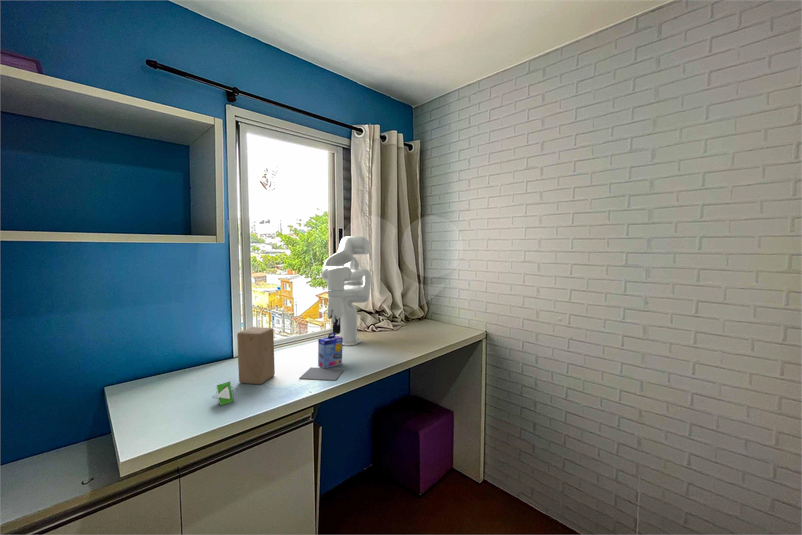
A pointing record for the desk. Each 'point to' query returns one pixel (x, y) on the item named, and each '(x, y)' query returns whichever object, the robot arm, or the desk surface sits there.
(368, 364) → the desk surface
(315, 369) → the mat
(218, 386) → the geometric puzzle
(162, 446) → the desk surface
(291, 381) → the desk surface
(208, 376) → the desk surface
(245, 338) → the wooden block
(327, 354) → the ink cartridge box
